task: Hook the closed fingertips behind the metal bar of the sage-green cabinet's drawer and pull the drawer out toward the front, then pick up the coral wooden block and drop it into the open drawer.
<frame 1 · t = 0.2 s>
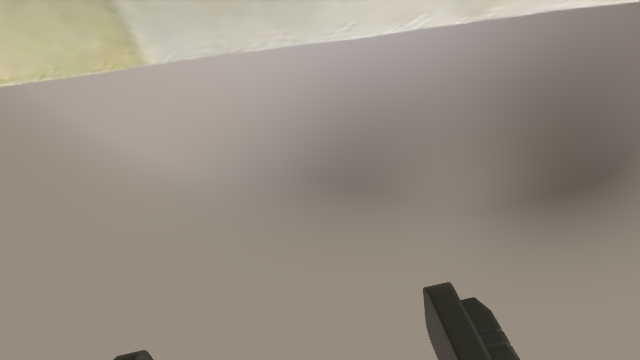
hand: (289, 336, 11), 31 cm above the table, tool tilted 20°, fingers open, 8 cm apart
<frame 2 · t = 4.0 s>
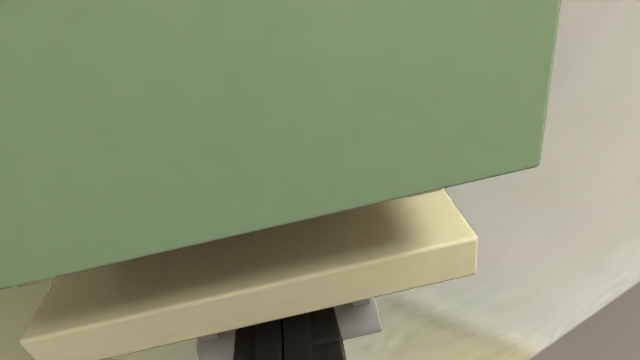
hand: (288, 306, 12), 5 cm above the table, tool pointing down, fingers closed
drawer: (219, 110, 10), point 4 cm above the table, slide at 2.2 cm, touching gripper
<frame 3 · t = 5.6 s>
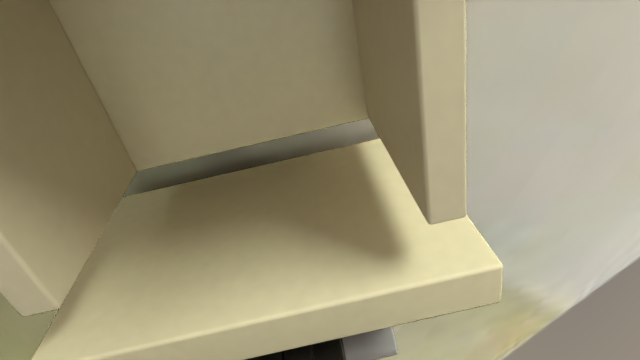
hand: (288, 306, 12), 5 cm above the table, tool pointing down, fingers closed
drawer: (231, 129, 10), point 4 cm above the table, slide at 7.6 cm
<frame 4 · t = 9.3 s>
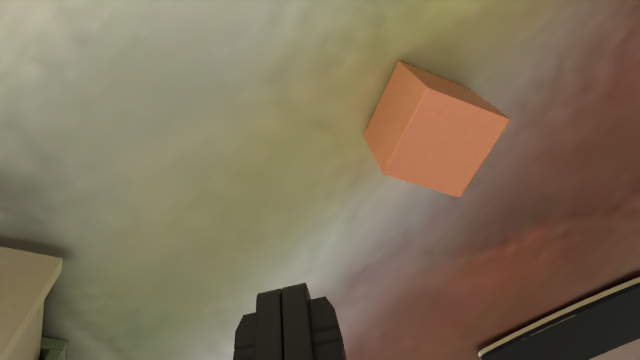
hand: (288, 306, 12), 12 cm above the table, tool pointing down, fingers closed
smartphone: (563, 330, 35), on the table
block: (415, 112, 23), on the table
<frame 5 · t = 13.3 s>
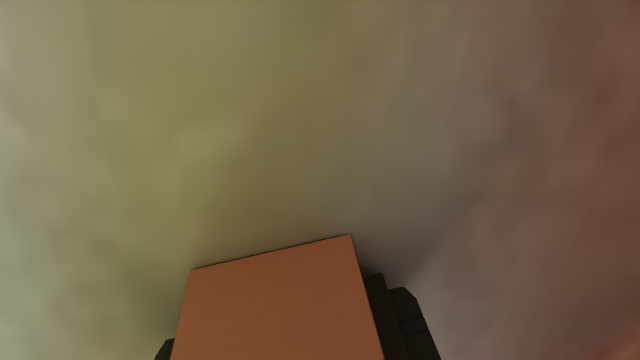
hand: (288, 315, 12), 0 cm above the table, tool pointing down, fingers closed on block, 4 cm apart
block: (289, 305, 12), on the table, touching gripper
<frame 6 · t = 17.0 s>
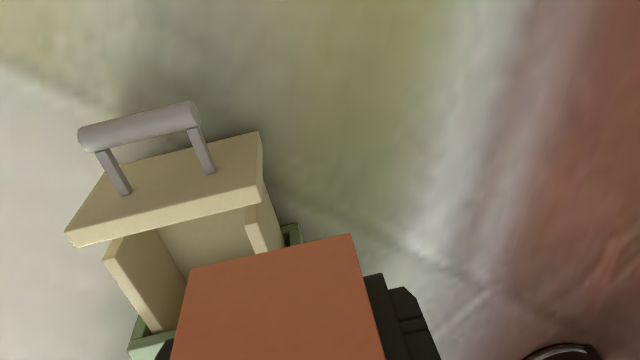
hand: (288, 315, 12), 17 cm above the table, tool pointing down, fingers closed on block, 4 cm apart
cabinet: (253, 296, 36), on the table
block: (289, 304, 12), point 17 cm above the table, touching gripper
drawer: (197, 227, 26), point 4 cm above the table, slide at 7.6 cm
when the fingers open (7 cm above the table, at t = 20.7 s): block drops 5 cm, resting on drawer.
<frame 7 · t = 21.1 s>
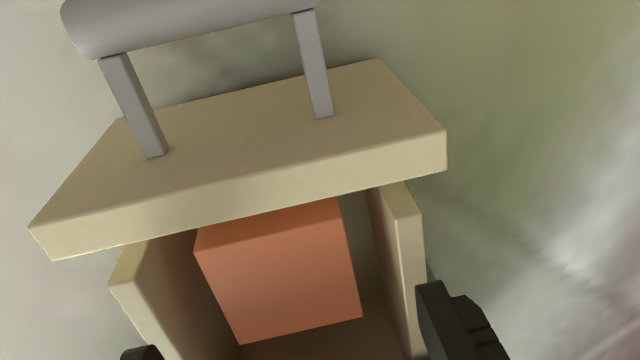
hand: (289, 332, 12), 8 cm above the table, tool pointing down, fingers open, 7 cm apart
block: (281, 207, 17), point 2 cm above the table, touching drawer
drawer: (275, 223, 15), point 4 cm above the table, slide at 7.6 cm, touching block
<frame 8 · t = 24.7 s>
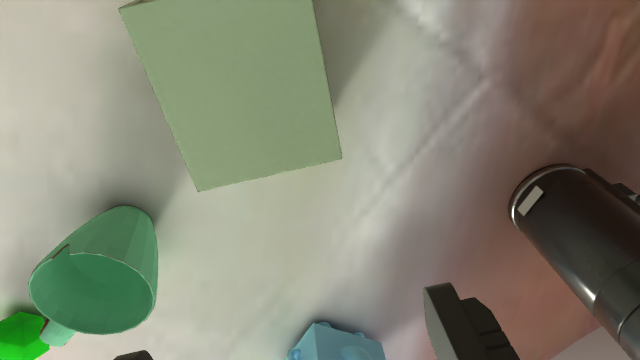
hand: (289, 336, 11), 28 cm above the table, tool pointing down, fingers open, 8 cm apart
teapot: (333, 341, 56), on the table
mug: (117, 237, 43), on the table
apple: (29, 325, 48), on the table
cabinet: (249, 60, 35), on the table
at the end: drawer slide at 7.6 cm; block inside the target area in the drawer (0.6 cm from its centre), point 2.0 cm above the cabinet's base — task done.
